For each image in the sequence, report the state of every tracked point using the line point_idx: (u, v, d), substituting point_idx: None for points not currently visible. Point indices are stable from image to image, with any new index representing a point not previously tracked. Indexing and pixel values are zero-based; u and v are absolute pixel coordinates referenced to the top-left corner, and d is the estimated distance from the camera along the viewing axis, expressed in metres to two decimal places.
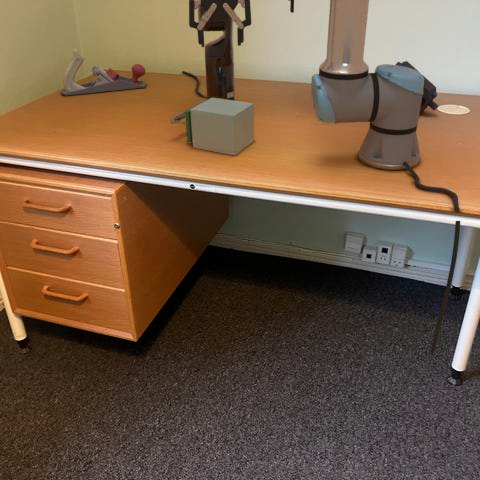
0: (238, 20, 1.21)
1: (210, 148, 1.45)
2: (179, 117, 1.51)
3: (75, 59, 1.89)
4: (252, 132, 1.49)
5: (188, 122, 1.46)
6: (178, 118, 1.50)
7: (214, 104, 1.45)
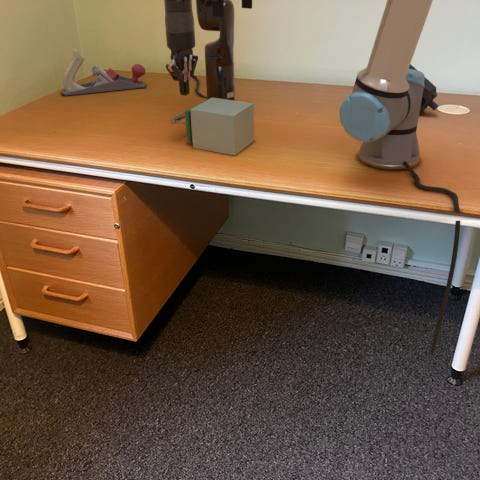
0: (189, 73, 1.45)
1: (210, 148, 1.45)
2: (179, 117, 1.51)
3: (75, 59, 1.89)
4: (252, 132, 1.49)
5: (188, 122, 1.46)
6: (178, 118, 1.50)
7: (214, 104, 1.45)
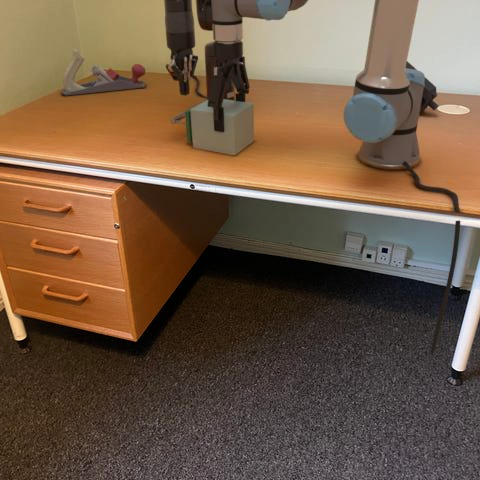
0: (189, 73, 1.45)
1: (210, 148, 1.45)
2: (179, 117, 1.51)
3: (75, 59, 1.89)
4: (252, 132, 1.49)
5: (188, 122, 1.46)
6: (178, 118, 1.50)
7: None
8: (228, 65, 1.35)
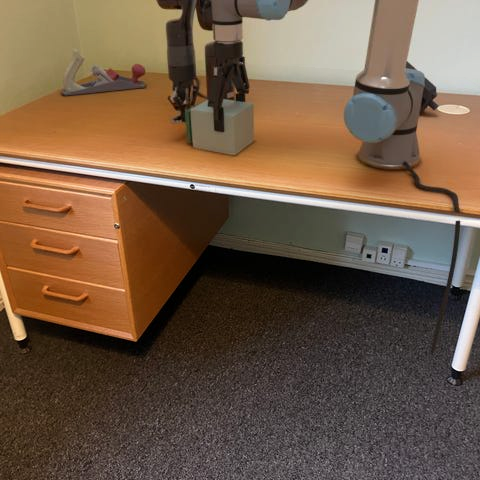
0: (190, 103, 1.50)
1: (210, 148, 1.45)
2: (179, 117, 1.51)
3: (75, 59, 1.89)
4: (252, 132, 1.49)
5: (188, 122, 1.46)
6: (178, 118, 1.50)
7: None
8: (228, 65, 1.35)
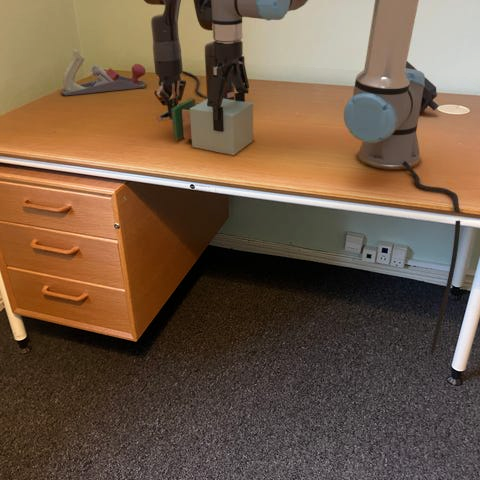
0: (177, 97, 1.51)
1: (210, 148, 1.46)
2: (166, 114, 1.52)
3: (75, 59, 1.89)
4: (251, 132, 1.49)
5: (174, 119, 1.47)
6: (165, 115, 1.52)
7: None
8: (228, 65, 1.35)
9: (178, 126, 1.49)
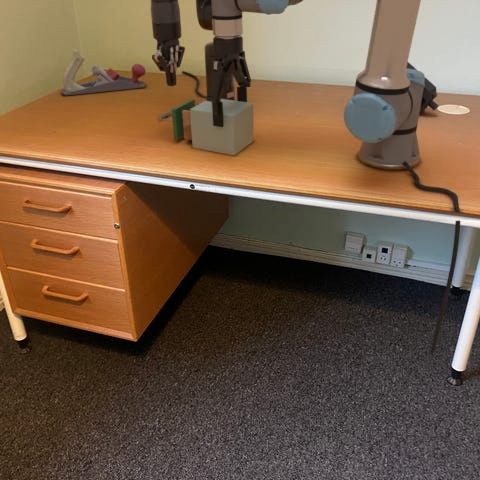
0: (176, 63, 1.46)
1: (210, 148, 1.46)
2: (166, 115, 1.52)
3: (75, 59, 1.89)
4: (252, 132, 1.49)
5: (175, 120, 1.47)
6: (165, 116, 1.52)
7: None
8: (228, 61, 1.34)
9: (178, 127, 1.49)
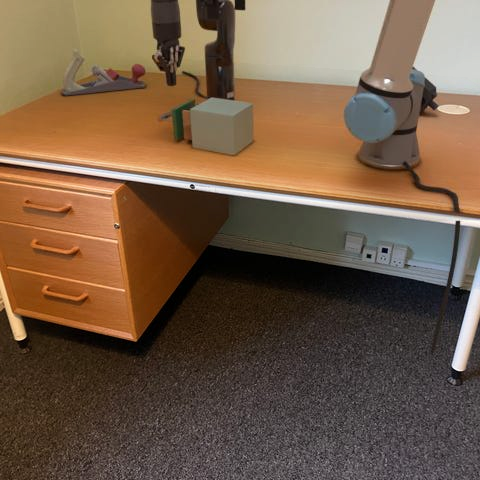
0: (176, 63, 1.46)
1: (210, 148, 1.46)
2: (166, 115, 1.52)
3: (75, 59, 1.89)
4: (252, 132, 1.49)
5: (175, 120, 1.47)
6: (165, 116, 1.52)
7: (213, 104, 1.45)
8: None
9: (178, 127, 1.49)
